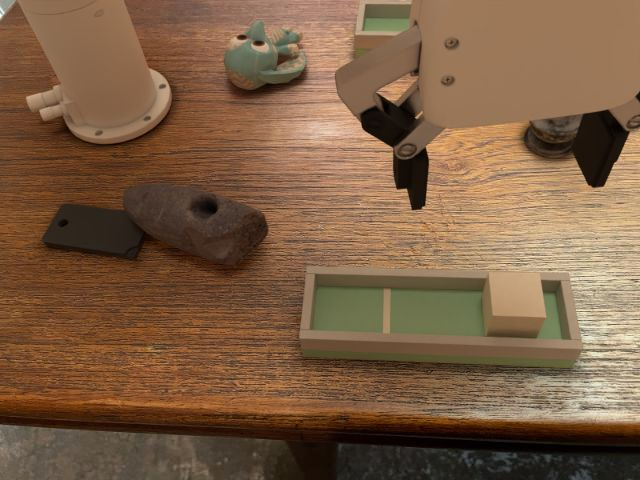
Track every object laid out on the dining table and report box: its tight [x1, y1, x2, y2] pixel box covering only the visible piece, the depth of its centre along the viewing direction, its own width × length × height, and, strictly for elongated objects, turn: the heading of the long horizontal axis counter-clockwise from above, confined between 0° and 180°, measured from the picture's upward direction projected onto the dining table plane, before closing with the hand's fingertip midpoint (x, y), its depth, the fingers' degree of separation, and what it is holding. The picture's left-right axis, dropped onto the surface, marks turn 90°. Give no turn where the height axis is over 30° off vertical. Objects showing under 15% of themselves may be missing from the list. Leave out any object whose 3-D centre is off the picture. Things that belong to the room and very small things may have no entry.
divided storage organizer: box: [298, 265, 584, 369], centre depth 51 cm, size 22×7×4 cm, turn 85°
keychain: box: [41, 202, 148, 260], centre depth 61 cm, size 5×1×10 cm
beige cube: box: [481, 272, 546, 339], centre depth 49 cm, size 4×4×4 cm
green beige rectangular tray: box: [354, 0, 412, 59], centre depth 74 cm, size 22×7×4 cm, turn 83°
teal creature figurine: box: [223, 19, 308, 91], centre depth 72 cm, size 11×7×12 cm
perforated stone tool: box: [122, 182, 270, 267], centre depth 57 cm, size 15×5×7 cm, turn 65°
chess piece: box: [523, 114, 583, 159], centre depth 60 cm, size 6×6×12 cm
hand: (499, 179), depth 34 cm, fingers open, 9 cm apart
